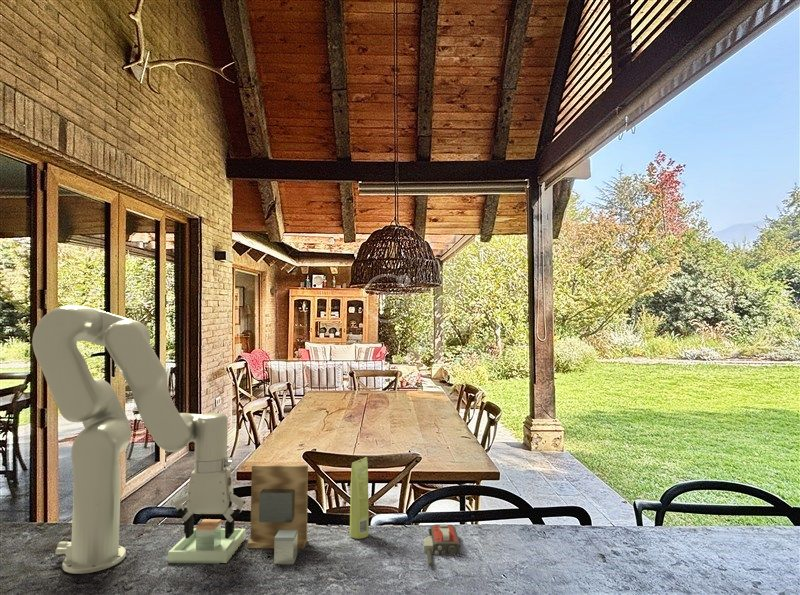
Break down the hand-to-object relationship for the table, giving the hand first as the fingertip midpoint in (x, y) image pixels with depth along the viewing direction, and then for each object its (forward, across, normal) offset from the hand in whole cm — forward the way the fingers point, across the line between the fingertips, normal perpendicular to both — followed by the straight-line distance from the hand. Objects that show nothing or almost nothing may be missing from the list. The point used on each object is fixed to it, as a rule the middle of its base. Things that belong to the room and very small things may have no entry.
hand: (209, 536), depth 123 cm
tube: (+3, -36, -10) cm, 37 cm away
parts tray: (+3, 0, 0) cm, 3 cm away
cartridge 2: (+3, -20, +4) cm, 21 cm away
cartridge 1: (+3, 0, 0) cm, 3 cm away
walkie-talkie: (+4, -57, -2) cm, 57 cm away
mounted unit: (+3, -16, -4) cm, 17 cm away
